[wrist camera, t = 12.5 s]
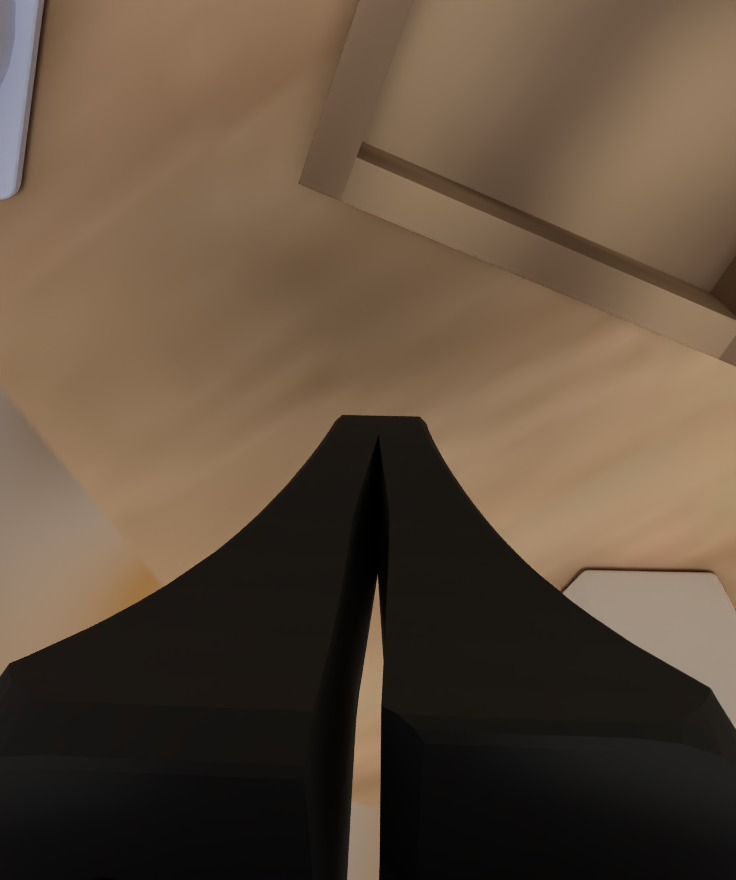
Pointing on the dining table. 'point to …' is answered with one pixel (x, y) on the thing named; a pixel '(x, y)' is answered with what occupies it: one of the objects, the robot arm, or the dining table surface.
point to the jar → (669, 621)
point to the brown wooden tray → (552, 146)
